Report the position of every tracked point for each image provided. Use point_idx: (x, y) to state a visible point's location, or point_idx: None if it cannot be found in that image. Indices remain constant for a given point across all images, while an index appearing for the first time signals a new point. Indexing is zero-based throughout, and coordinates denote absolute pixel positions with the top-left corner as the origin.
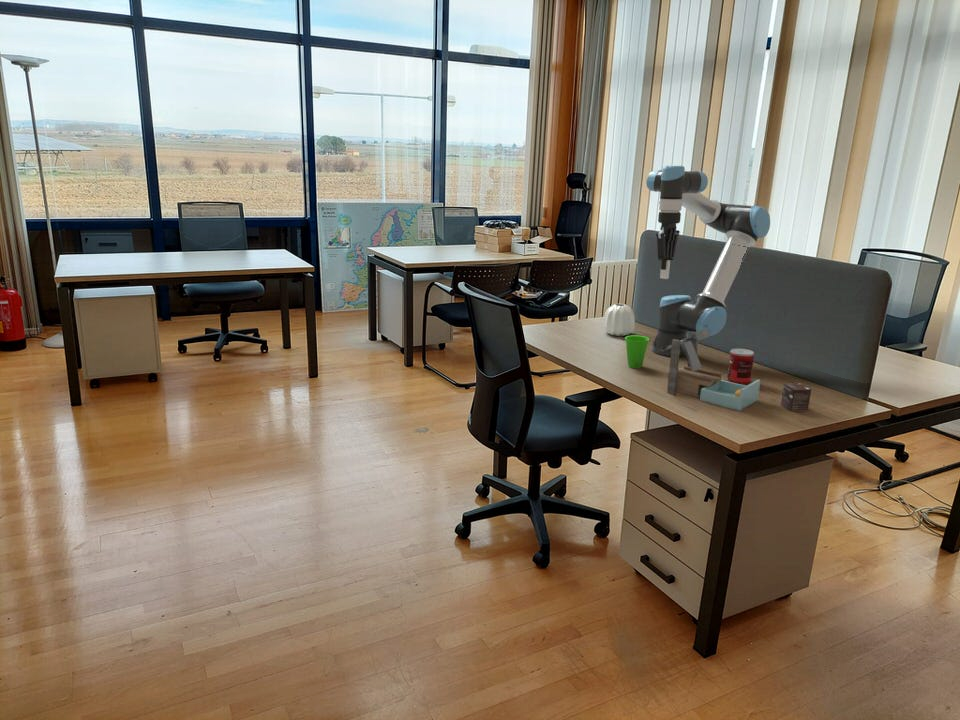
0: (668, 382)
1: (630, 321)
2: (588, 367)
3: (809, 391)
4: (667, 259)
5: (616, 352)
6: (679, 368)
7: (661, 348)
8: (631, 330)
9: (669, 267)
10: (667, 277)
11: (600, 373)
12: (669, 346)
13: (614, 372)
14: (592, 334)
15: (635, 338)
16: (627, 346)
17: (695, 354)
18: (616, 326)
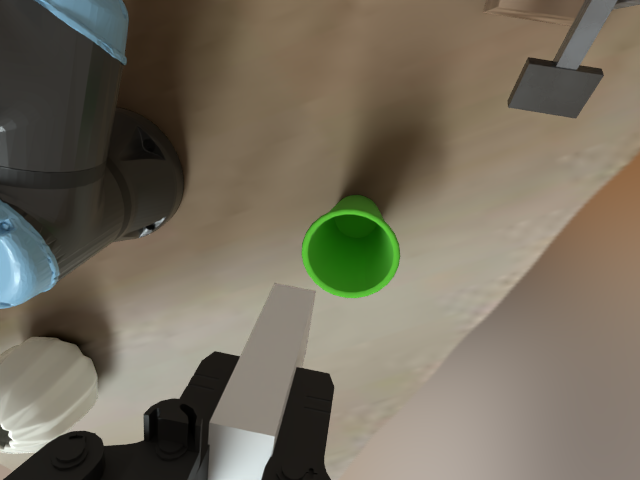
0: (634, 4)
1: (35, 361)
2: (447, 325)
3: None
4: (300, 464)
5: (248, 309)
6: (512, 3)
7: (600, 78)
8: (44, 340)
9: (247, 353)
10: (300, 295)
11: (491, 277)
12: (589, 43)
13: (458, 246)
14: (124, 416)
15: (315, 267)
16: (380, 267)
17: None
18: (82, 382)
